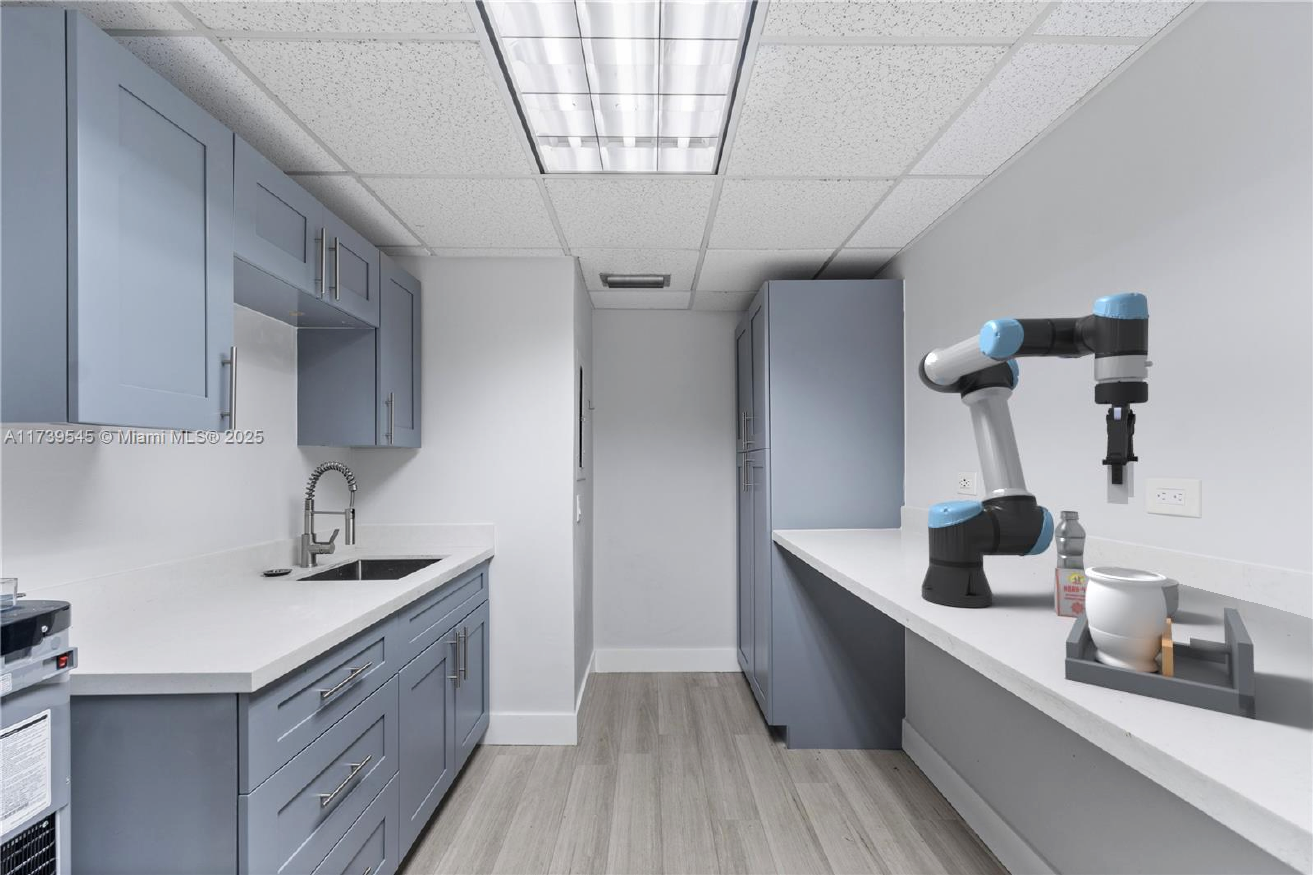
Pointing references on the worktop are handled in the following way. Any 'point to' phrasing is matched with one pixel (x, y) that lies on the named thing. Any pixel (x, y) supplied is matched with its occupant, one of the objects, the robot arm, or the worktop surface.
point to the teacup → (1171, 595)
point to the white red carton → (1070, 592)
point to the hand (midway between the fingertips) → (1121, 500)
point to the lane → (1178, 669)
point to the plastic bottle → (1070, 541)
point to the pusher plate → (1167, 651)
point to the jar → (1126, 616)
